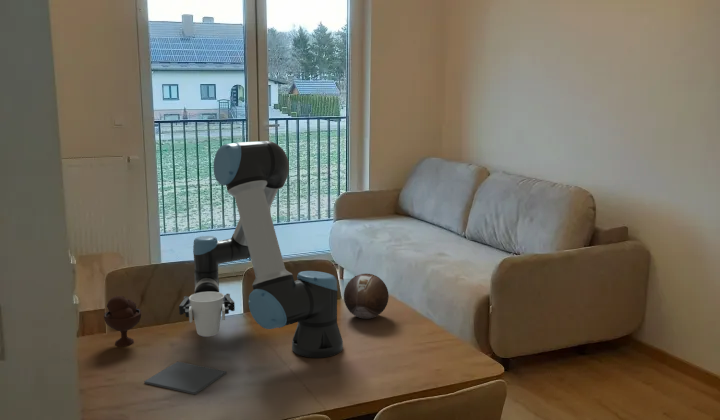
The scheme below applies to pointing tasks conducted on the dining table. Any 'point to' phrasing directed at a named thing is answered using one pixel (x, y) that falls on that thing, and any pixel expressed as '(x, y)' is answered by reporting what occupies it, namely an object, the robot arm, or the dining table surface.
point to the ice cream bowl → (122, 317)
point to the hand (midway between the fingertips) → (207, 316)
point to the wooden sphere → (366, 296)
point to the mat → (185, 377)
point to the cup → (207, 312)
